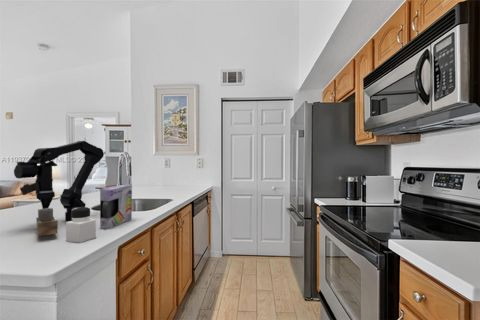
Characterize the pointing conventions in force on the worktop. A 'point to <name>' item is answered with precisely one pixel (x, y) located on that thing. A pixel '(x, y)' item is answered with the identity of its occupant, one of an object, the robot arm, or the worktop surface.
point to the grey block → (45, 214)
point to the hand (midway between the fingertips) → (45, 212)
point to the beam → (47, 227)
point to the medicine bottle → (80, 226)
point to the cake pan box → (115, 205)
